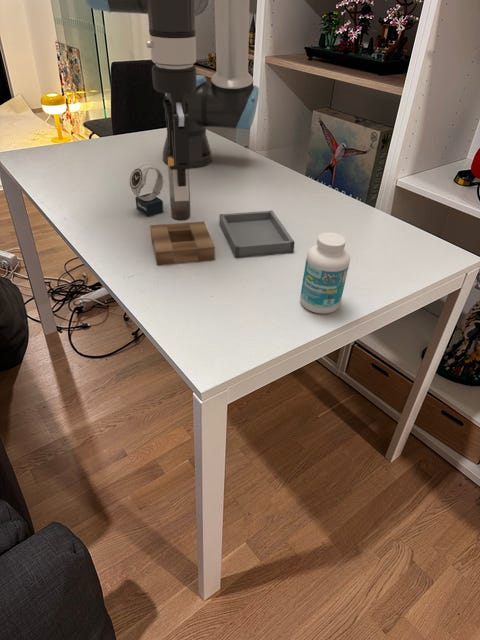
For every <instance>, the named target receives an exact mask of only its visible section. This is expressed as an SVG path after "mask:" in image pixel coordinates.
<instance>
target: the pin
mask: <svg viewBox="0 0 480 640" xmlns="http://www.w3.org/2000/svg"><path fill="white" fill-rule="evenodd" d="M173 165H174V158H173V156H170V157H168V164H167V171H168V172H167V173H168V183H169V185H168V186H169V198H170V199H169V201H170V202H169V204H170V215H171V216H170V218H171V219H173V220H174V221H177V222H181V221H183V222H184V221H188V220H189V219H191V215H192V213H191V191H190V190H191V189H190V188H191V187H190V186H191V183H190V181H191V180H190V168H189V169H188V190H189V200H188V201H175V196H174V178H173V170H171V169H170V166H173Z"/></svg>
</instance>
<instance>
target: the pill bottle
mask: <svg viewBox="0 0 480 640" xmlns="http://www.w3.org/2000/svg"><path fill="white" fill-rule="evenodd" d="M346 242H347V241H346V238H345V237H344V236H342V235H341V234H339V233H335V232H322V233H320V234H319V235H318V236H317V240H316V244H314V245H312V246H311V247H310V248H309V249H308V251H307V253H306V257H305V264H304V265H305V266H304V270H303V271H304V272H303V278H302V284H301V289H300V296H299V297H300V298H299V299H300V303H301V304H302V306H303V307H304V308H305V309H306V310H308V311H309V312H313V313H317V314H322V315H323V314H330V313H333V312H335V311H337V310H338V309H339V307H340V305H341V303H342V297H343V293H344V289H345V285H346V284H345V283H346V279H347V276H348V271H349V267H350V262H351V256H350V253H349V252H348V250H346Z"/></svg>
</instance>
